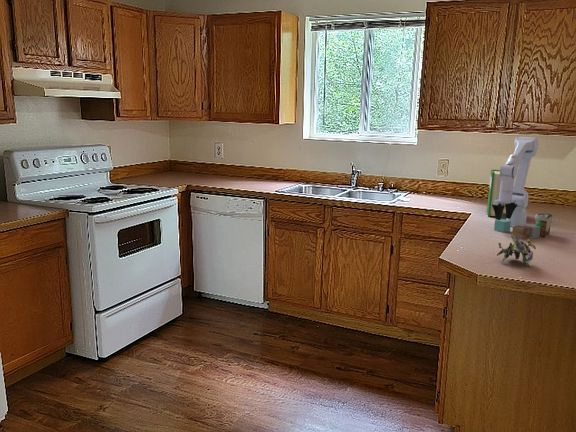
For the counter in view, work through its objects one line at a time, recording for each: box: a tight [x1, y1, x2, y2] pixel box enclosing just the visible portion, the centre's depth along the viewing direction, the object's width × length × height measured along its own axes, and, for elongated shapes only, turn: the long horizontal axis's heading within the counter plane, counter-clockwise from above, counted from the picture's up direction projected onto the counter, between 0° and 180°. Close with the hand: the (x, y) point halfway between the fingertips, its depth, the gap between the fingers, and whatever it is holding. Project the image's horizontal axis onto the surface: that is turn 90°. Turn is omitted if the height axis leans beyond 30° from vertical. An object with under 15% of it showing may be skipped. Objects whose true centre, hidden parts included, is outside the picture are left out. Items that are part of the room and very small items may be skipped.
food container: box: [534, 211, 553, 239], centre depth 236 cm, size 12×6×10 cm, turn 143°
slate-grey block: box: [524, 224, 541, 239], centre depth 233 cm, size 5×5×5 cm
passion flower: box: [496, 233, 537, 268], centre depth 188 cm, size 13×12×14 cm
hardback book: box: [486, 169, 505, 219], centre depth 282 cm, size 18×7×24 cm, turn 161°
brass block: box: [511, 225, 530, 240], centre depth 230 cm, size 5×5×5 cm
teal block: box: [493, 218, 512, 233], centre depth 244 cm, size 5×5×5 cm
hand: (503, 219), depth 243 cm, fingers open, 7 cm apart
